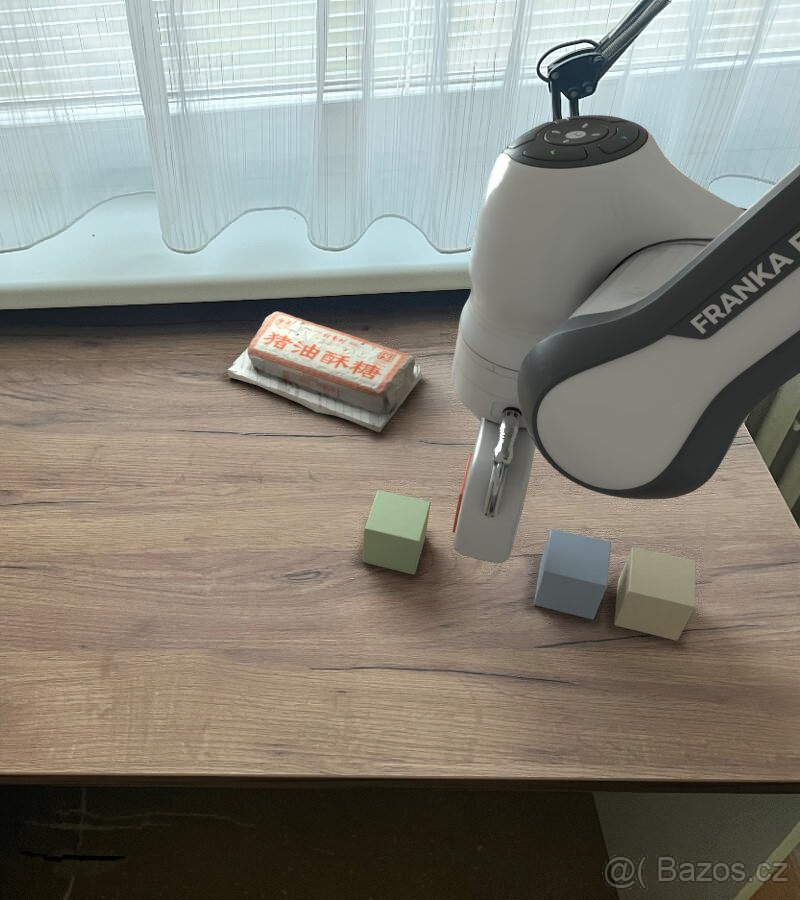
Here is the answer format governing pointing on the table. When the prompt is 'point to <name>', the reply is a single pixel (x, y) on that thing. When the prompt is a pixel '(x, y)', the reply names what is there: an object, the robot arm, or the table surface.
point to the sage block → (395, 532)
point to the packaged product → (328, 370)
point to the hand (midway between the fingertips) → (490, 503)
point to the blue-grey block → (573, 574)
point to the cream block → (656, 593)
